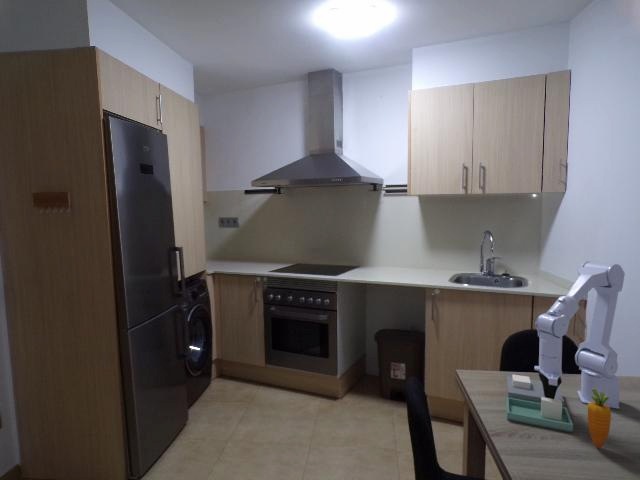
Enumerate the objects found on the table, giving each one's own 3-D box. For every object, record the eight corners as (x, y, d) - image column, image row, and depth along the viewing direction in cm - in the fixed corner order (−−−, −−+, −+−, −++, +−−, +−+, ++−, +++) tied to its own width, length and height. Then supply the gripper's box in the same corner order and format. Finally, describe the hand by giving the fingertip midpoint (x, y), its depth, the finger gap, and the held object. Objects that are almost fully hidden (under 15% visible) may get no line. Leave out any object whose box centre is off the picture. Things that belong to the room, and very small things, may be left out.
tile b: (529, 382, 123) (529, 376, 123) (530, 389, 118) (530, 383, 118) (512, 380, 125) (512, 374, 125) (512, 386, 121) (512, 380, 121)
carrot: (614, 455, 91) (616, 396, 90) (591, 452, 92) (593, 394, 91) (603, 442, 96) (605, 386, 95) (582, 440, 97) (583, 385, 96)
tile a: (561, 400, 107) (562, 403, 105) (560, 417, 107) (561, 420, 106) (541, 396, 109) (541, 399, 108) (540, 413, 110) (541, 416, 108)
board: (557, 393, 122) (557, 383, 122) (564, 413, 111) (564, 401, 110) (506, 385, 129) (507, 375, 128) (507, 402, 117) (508, 392, 117)
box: (566, 415, 109) (566, 407, 109) (572, 433, 100) (573, 425, 100) (506, 403, 116) (506, 397, 116) (507, 419, 107) (507, 412, 107)
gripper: (532, 345, 119) (531, 386, 119) (537, 361, 105) (536, 407, 106) (558, 348, 115) (557, 390, 116) (566, 365, 102) (565, 412, 103)
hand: (549, 398), depth 111 cm, fingers closed
